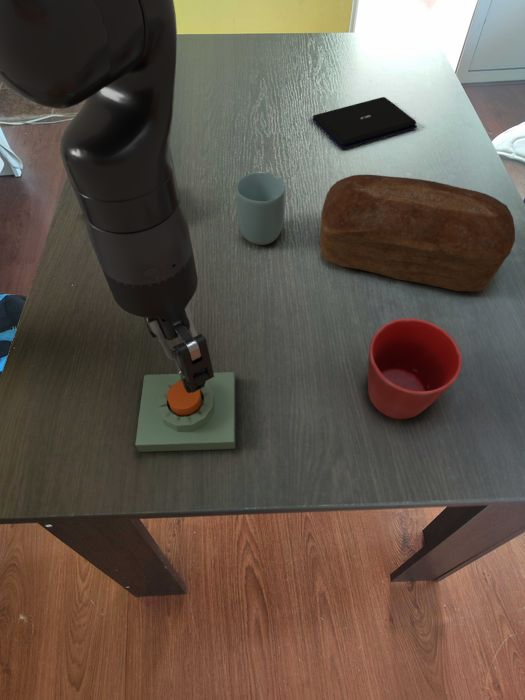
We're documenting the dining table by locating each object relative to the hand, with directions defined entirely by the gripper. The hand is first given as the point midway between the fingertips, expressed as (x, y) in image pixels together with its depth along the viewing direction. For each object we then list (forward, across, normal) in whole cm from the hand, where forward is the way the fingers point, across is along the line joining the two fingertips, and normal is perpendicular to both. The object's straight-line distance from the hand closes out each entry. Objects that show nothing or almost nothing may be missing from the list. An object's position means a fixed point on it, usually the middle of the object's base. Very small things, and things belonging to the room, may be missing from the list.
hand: (177, 358), depth 51 cm
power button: (+9, 0, +1) cm, 9 cm away
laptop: (+13, +41, -63) cm, 76 cm away
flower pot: (+13, -13, -24) cm, 30 cm away
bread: (+13, +6, -42) cm, 45 cm away
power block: (+12, 0, +1) cm, 12 cm away
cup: (+13, +23, -26) cm, 37 cm away
